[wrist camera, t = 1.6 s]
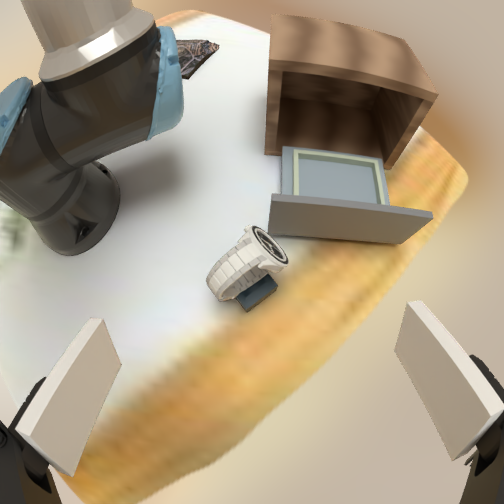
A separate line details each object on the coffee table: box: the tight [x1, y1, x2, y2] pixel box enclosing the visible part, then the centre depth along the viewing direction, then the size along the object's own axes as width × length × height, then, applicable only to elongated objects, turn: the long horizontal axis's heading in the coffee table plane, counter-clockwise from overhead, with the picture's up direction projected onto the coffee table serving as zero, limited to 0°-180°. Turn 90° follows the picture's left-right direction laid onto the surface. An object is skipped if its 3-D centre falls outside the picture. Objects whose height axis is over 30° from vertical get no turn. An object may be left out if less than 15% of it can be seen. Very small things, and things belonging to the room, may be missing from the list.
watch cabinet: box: [264, 14, 438, 170], centre depth 34 cm, size 20×14×17 cm
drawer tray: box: [268, 146, 433, 244], centre depth 32 cm, size 18×13×8 cm
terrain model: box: [176, 40, 219, 79], centre depth 49 cm, size 20×15×3 cm
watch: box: [206, 225, 289, 312], centre depth 29 cm, size 6×8×11 cm
